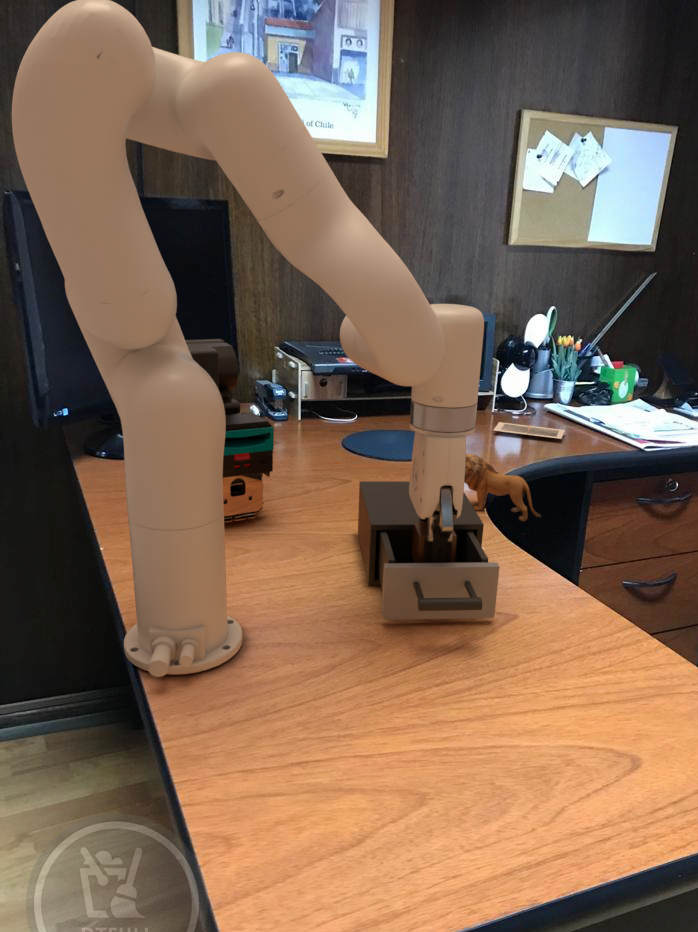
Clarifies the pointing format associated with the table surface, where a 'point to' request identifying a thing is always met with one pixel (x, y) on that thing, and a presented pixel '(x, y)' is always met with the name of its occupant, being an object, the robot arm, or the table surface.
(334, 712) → the table surface
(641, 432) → the table surface
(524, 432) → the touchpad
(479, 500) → the lion figurine
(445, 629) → the table surface
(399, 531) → the drawer
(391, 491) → the cabinet
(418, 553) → the block
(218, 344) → the bill acceptor
